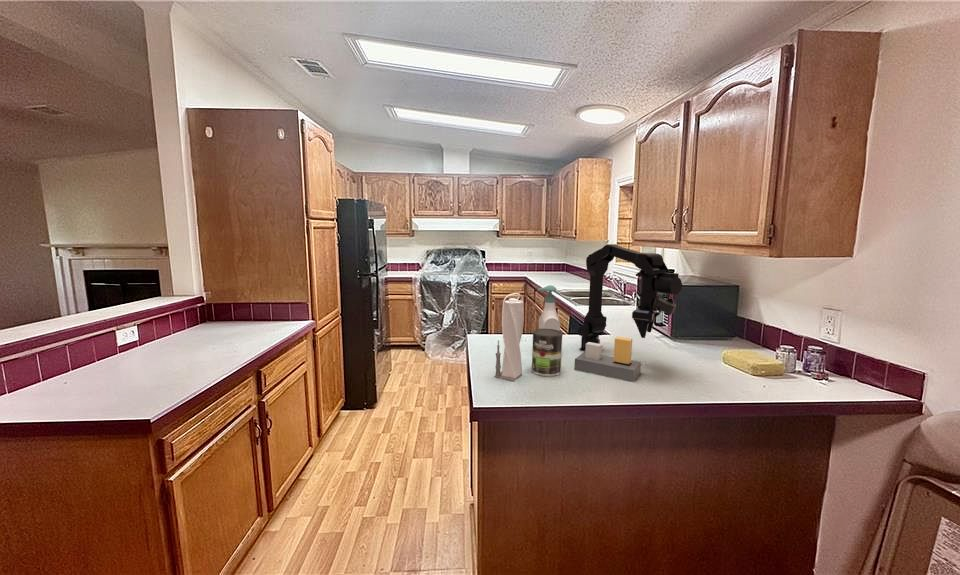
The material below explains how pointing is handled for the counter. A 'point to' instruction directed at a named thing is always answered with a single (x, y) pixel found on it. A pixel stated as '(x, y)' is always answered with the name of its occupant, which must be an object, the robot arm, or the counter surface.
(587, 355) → the white rectangular block
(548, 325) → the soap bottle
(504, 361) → the skyscraper
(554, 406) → the counter surface
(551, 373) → the coffee can
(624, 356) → the amber plug
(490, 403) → the counter surface
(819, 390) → the counter surface
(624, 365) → the block
